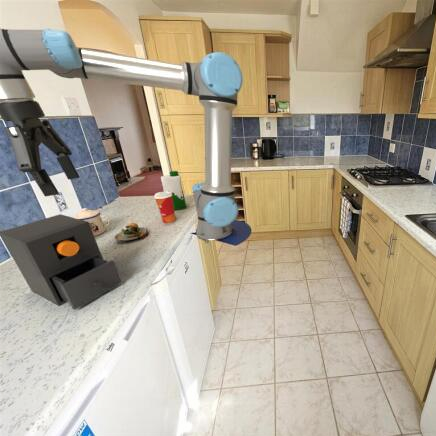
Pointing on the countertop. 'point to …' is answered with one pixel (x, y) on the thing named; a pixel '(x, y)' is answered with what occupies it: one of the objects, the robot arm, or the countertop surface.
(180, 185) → the milk carton
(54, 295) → the fryer base
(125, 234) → the burger
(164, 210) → the paper cup
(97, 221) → the teacup with lid
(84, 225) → the panel
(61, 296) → the pull-out fryer drawer
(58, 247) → the button
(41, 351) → the countertop surface
